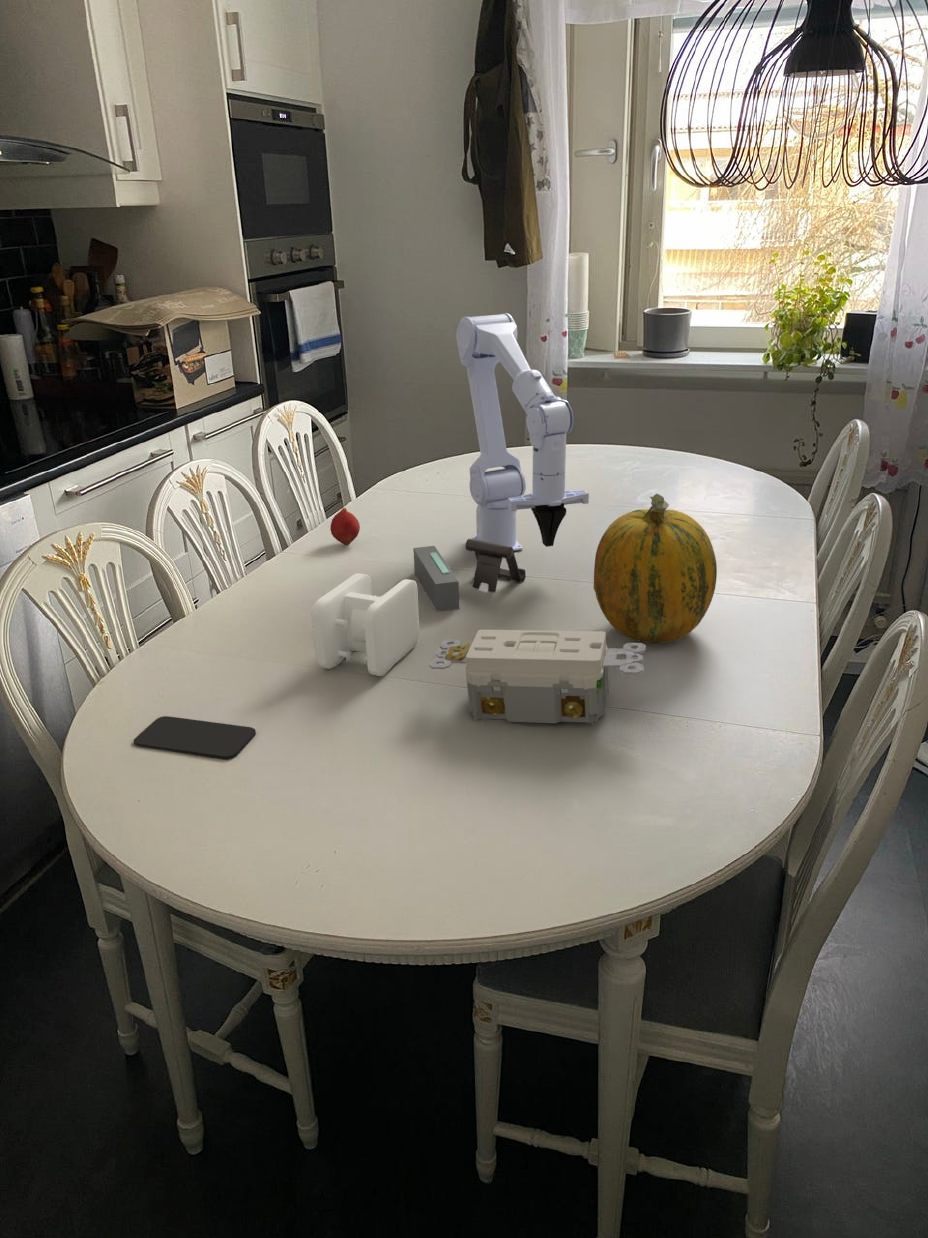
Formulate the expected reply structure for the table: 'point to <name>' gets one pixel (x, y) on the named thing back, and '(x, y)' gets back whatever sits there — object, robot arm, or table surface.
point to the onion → (344, 527)
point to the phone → (195, 737)
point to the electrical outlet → (538, 673)
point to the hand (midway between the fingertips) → (547, 544)
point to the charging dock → (436, 578)
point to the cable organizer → (365, 624)
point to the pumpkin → (655, 573)
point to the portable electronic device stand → (493, 564)
